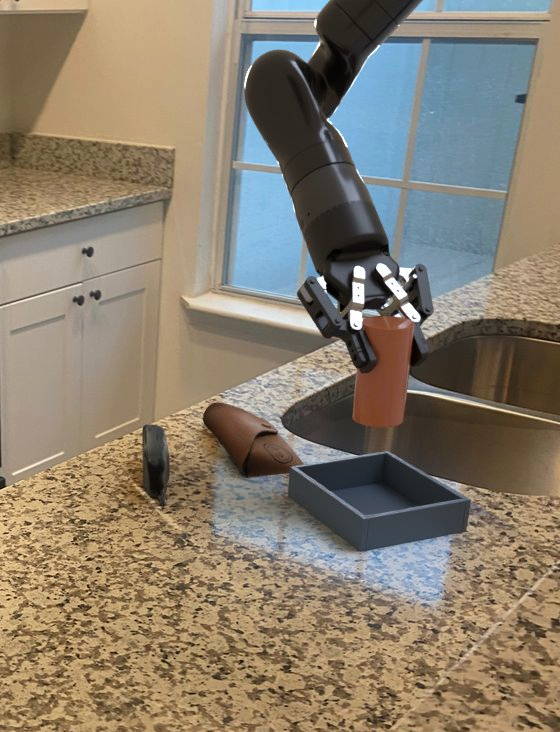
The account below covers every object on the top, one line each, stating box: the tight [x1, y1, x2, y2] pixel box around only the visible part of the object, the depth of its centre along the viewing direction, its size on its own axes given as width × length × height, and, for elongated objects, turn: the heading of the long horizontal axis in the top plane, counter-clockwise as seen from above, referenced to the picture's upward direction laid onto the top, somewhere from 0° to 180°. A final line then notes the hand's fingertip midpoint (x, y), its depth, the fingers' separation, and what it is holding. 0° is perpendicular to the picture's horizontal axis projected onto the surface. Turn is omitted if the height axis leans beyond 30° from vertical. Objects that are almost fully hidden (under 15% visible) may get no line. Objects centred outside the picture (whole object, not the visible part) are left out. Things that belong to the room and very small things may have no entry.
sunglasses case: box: [202, 401, 305, 479], centre depth 125 cm, size 18×7×7 cm
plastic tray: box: [287, 450, 472, 553], centre depth 107 cm, size 12×14×4 cm
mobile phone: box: [141, 423, 171, 507], centre depth 117 cm, size 5×3×15 cm
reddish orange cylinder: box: [351, 315, 415, 428], centre depth 102 cm, size 5×5×10 cm
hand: (395, 365), depth 100 cm, fingers closed on reddish orange cylinder, 5 cm apart
